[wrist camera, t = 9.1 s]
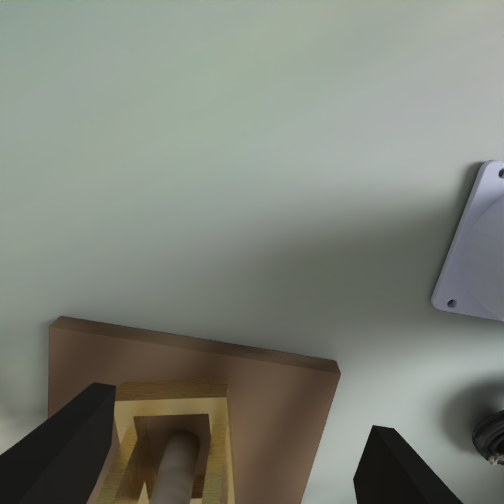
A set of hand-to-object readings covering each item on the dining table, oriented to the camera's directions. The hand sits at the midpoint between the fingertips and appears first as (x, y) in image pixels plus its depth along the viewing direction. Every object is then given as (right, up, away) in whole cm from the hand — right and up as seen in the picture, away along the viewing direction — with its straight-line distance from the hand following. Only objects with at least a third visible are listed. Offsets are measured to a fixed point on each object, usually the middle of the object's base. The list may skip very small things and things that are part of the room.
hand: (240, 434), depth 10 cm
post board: (-4, -6, +12) cm, 14 cm away
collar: (-4, -6, +11) cm, 13 cm away
